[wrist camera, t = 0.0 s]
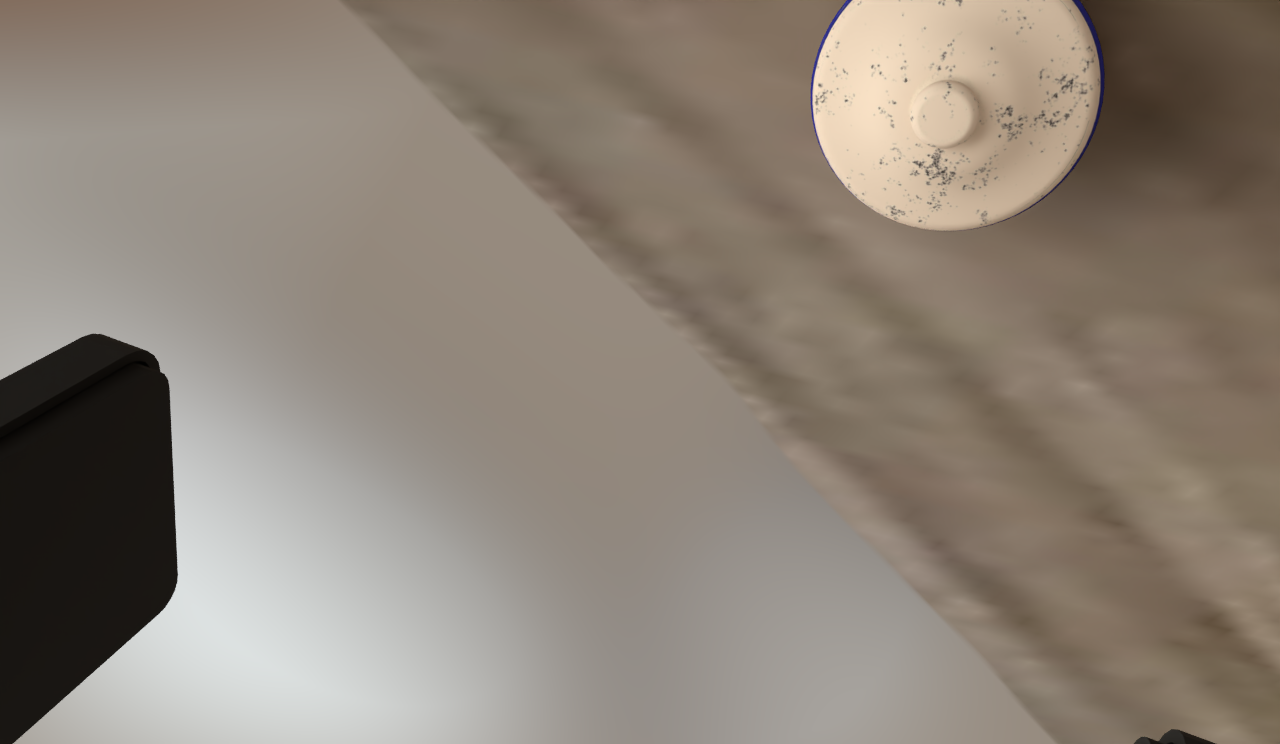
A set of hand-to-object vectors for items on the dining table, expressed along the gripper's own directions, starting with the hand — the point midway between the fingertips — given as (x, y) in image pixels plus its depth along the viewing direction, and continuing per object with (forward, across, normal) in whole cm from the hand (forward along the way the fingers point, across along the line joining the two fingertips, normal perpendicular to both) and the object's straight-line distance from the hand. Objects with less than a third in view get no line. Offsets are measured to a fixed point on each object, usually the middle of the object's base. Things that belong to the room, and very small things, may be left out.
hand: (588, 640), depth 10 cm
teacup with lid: (+38, 0, 0) cm, 38 cm away
